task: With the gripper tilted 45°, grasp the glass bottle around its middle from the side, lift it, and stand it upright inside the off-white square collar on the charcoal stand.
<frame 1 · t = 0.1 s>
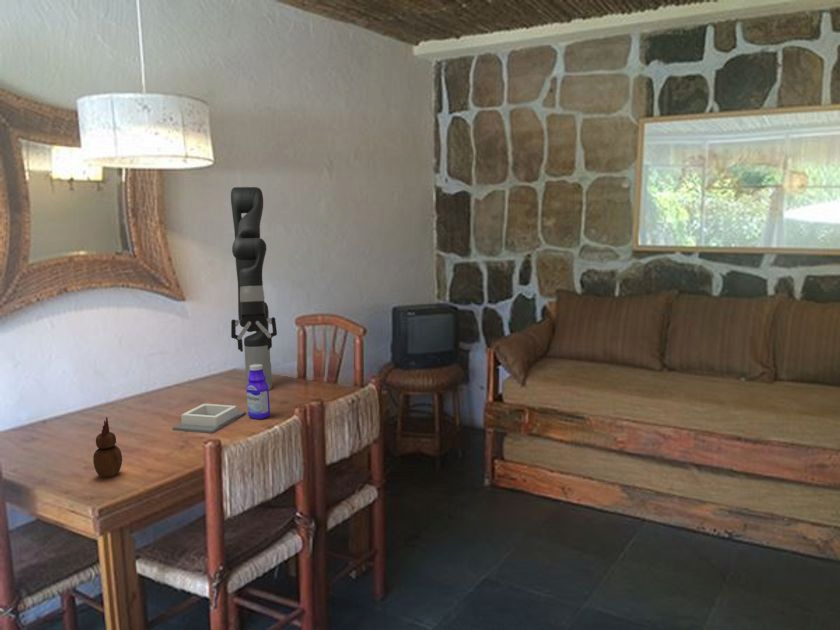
hand: (255, 350, 217), 22 cm above the table, tool pointing down, fingers open, 8 cm apart
wooden figurine: (109, 475, 175), on the table
bottle stand: (210, 421, 217), on the table
bottle: (259, 417, 221), on the table
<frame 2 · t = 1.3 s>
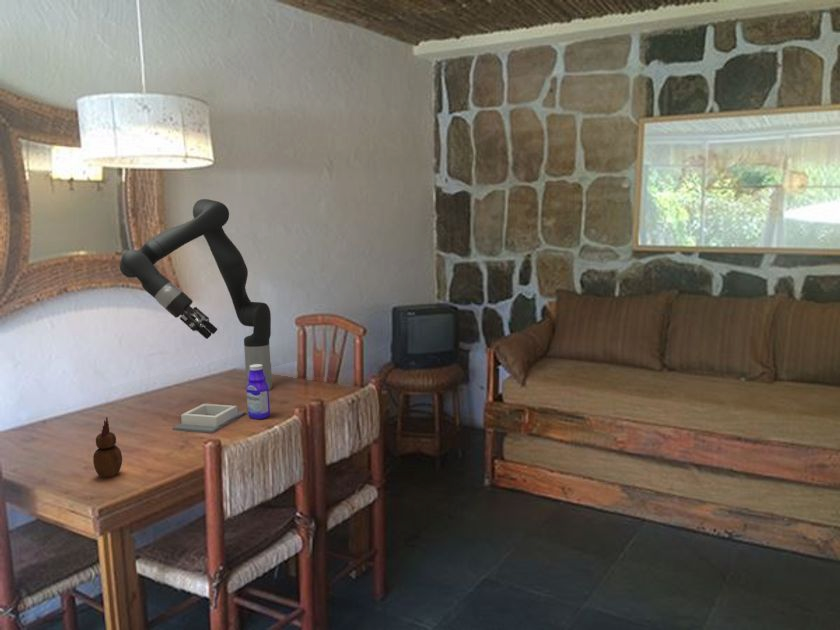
hand: (212, 334, 216), 28 cm above the table, tool tilted 45°, fingers open, 8 cm apart
nothing on the table moved.
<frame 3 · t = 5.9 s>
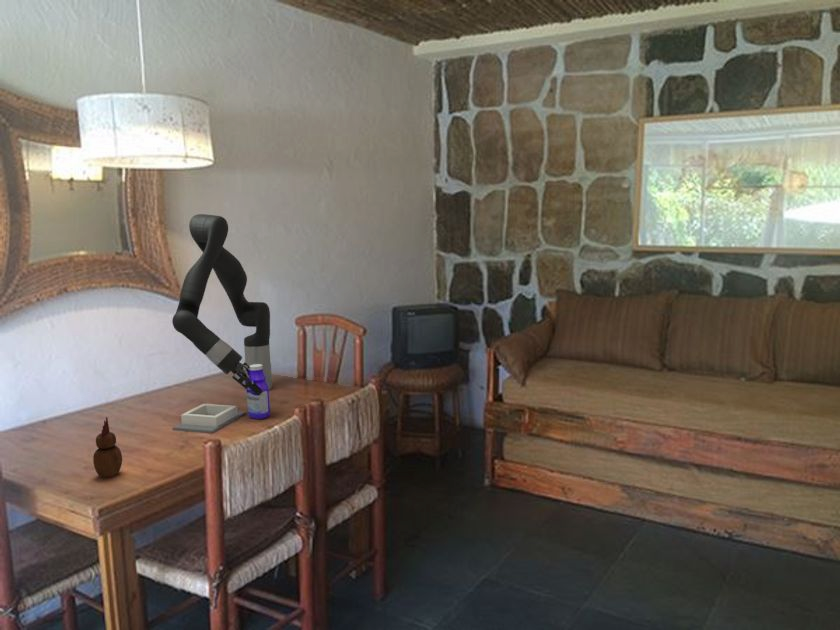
hand: (262, 390, 220), 9 cm above the table, tool tilted 45°, fingers closed on bottle, 6 cm apart
bottle: (259, 417, 221), on the table, touching gripper
everything else where it was.
when the fingers open (11 cm above the table, at t = 12.3 s): bottle drops 1 cm, resting on bottle stand.
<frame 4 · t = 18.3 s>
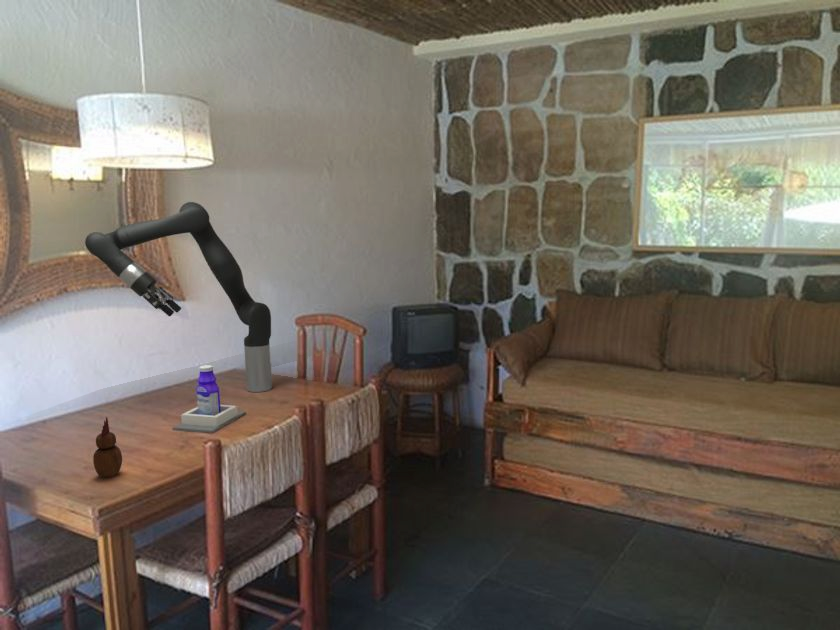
hand: (175, 312, 225), 34 cm above the table, tool tilted 45°, fingers open, 8 cm apart
bottle: (209, 419, 217), point 1 cm above the table, touching bottle stand
everything else where it was.
at the end: bottle 0.2 cm off-centre on the bottle stand, point 0.6 cm above the bottle stand's base; bottle tilted 0°; the gripper is holding nothing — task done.
